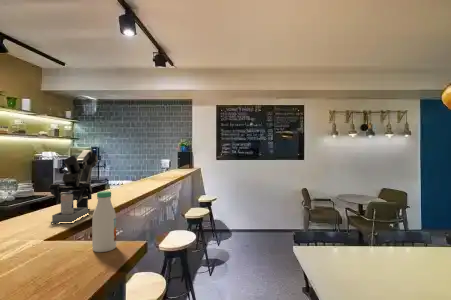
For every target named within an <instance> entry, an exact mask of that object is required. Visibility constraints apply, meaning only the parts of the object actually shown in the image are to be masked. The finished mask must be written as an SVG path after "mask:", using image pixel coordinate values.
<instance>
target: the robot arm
mask: <svg viewBox="0 0 451 300" xmlns="http://www.w3.org/2000/svg"><path fill="white" fill-rule="evenodd" d="M98 159H99V158H98V155H97V154H96V153H94V152H93V151H92V150H89V149H86V150H85V149H84V150H81V153H80V154H78V156H76V155H70V156H69V157H67V158H66V159H65V160H64V165H65V166H66V167H65V168H66V169H67V172H68V173H63V176H62V182H63V185H64V186H60V184H59V183H51V184H50V185H49V187H48V190H49V191H50V194H51V195H52V196H54V197H55V204H56V205H57V204H59V201H60V200H61V195H62V192H63V191H69V192H71V194H73V201H76V208H89V200H92V192H93V188H92V184H91V183H89V182H90V178H91V175H92V174H91V173H92V170H93V168H95V167H96V166H97V163H98V161H99V160H98Z"/></svg>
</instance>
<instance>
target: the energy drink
mask: <svg viewBox="0 0 451 300" xmlns="http://www.w3.org/2000/svg"><path fill="white" fill-rule="evenodd" d="M60 195H61V196H60V212H61V215H71V214H73V213H74V211H73V208H74V200H73V194H72V193H63V194H62V193H61V194H60Z"/></svg>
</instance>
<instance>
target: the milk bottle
mask: <svg viewBox="0 0 451 300" xmlns="http://www.w3.org/2000/svg"><path fill="white" fill-rule="evenodd" d="M96 196H97V197H96V199H97V203H96V206H95V208H94V211H93V214H92V218H91V219H92V220H91V221H92V222H91V223H92V226H91V227H92V228H91V231H92V233H91V235H92V240H91V241H92V244H91V245H92V246H91V247H92V251H93V252H95V253H104V252H110V251H113V250H115V249H116V247H117V214H116V210H115V208H114V206H113V204H112V201H111V200H112V199H111V198H112V191H107V190H106V191H105V190H104V191H97V193H96Z"/></svg>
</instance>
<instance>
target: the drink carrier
mask: <svg viewBox="0 0 451 300" xmlns="http://www.w3.org/2000/svg"><path fill="white" fill-rule="evenodd" d="M88 208H89V207H88ZM88 208H77V207H73V211H74V213H73V214H71V215H61V211H60V212H58V213H55V214H53V215H52V217H51V218H52V219H51V222H50V224H51V223H59V222H72V221H74V220H76V219H77V218H79V217H81V216H83V215H85V214H87V213H89V210H88Z"/></svg>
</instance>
